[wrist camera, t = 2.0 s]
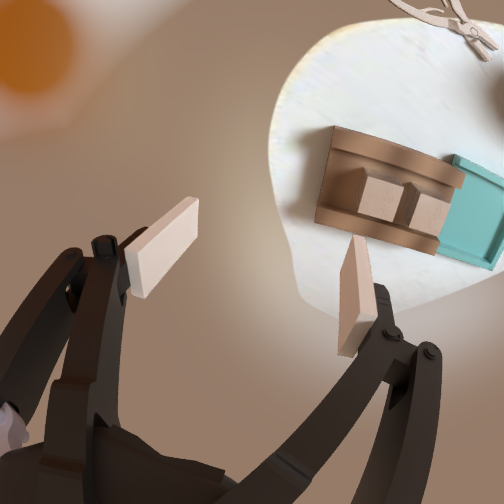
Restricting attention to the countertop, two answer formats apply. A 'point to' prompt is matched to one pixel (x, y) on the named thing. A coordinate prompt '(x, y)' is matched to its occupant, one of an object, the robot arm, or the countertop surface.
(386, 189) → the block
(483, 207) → the tray
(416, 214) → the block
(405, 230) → the groove board
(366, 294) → the robot arm
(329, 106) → the countertop surface
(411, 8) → the pliers
